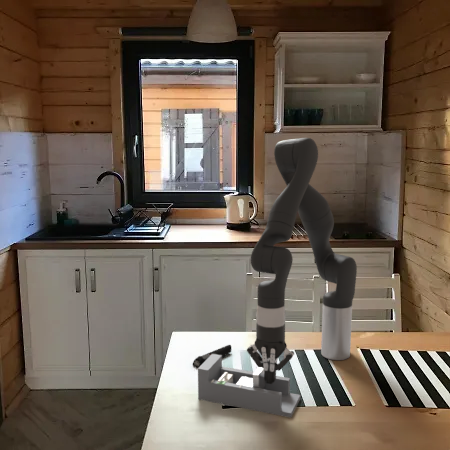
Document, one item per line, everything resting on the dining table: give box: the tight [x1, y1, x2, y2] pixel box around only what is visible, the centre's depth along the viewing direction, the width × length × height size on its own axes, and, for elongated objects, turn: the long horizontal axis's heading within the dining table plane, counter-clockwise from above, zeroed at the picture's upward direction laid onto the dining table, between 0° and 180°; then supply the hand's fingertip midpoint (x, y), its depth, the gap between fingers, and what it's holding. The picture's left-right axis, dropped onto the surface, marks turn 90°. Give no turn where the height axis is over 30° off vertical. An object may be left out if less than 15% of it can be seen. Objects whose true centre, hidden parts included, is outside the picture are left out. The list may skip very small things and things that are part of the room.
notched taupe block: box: [237, 366, 265, 389], centre depth 145 cm, size 6×7×8 cm
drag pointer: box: [218, 372, 233, 383], centre depth 147 cm, size 8×2×5 cm, turn 159°
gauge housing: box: [197, 354, 301, 418], centre depth 146 cm, size 10×26×9 cm, turn 69°
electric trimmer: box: [192, 344, 232, 369], centre depth 171 cm, size 4×16×3 cm, turn 135°
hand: (269, 382), depth 143 cm, fingers closed
